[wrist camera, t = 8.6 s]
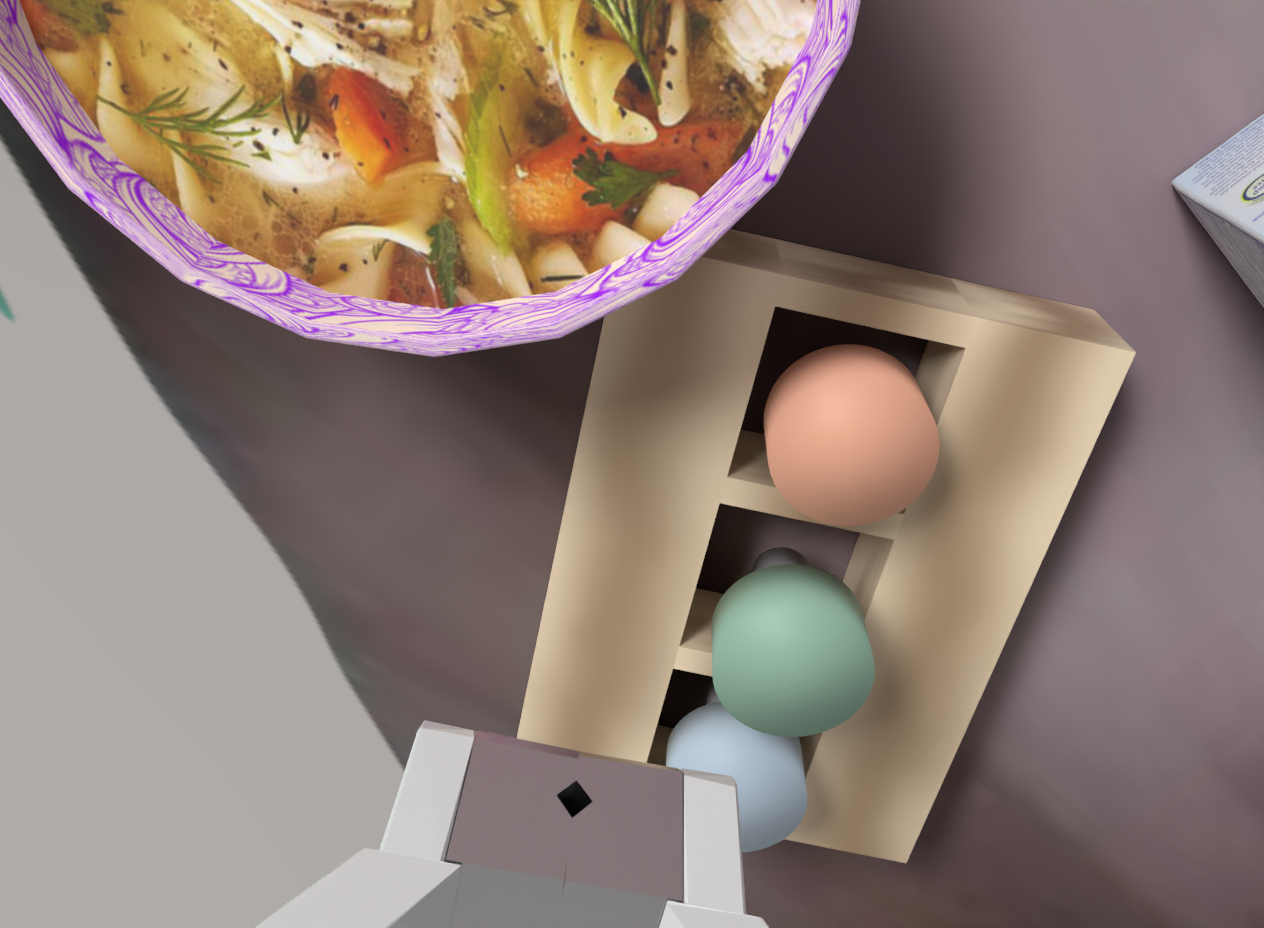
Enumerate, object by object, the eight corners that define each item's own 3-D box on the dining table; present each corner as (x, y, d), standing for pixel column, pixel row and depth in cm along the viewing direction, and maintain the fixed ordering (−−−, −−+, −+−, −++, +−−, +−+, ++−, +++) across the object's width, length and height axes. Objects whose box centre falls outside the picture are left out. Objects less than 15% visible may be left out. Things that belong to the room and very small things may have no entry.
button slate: (809, 656, 43) (824, 761, 38) (775, 752, 45) (785, 863, 40) (684, 631, 43) (682, 732, 38) (656, 728, 45) (651, 837, 40)
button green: (869, 526, 38) (896, 625, 33) (828, 641, 41) (847, 750, 35) (729, 497, 38) (734, 591, 33) (696, 613, 40) (695, 719, 35)
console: (1093, 309, 37) (1135, 352, 33) (890, 790, 47) (906, 863, 43) (628, 206, 36) (620, 239, 33) (521, 717, 46) (507, 784, 43)
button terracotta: (925, 324, 37) (963, 394, 31) (879, 455, 39) (907, 541, 34) (780, 292, 36) (793, 357, 31) (742, 425, 39) (749, 507, 33)
